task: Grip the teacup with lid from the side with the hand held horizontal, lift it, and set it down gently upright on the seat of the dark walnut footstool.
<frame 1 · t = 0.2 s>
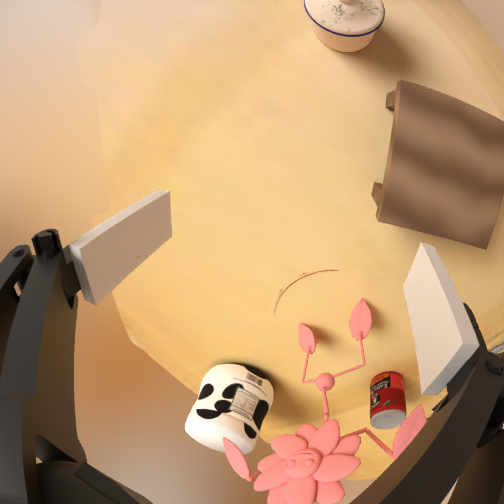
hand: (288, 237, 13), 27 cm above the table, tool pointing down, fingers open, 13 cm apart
milk container: (242, 379, 63), on the table
teacup with lid: (337, 19, 26), on the table
canned food: (386, 380, 51), on the table
figurine: (327, 305, 47), on the table
walnut footstool: (428, 157, 31), on the table
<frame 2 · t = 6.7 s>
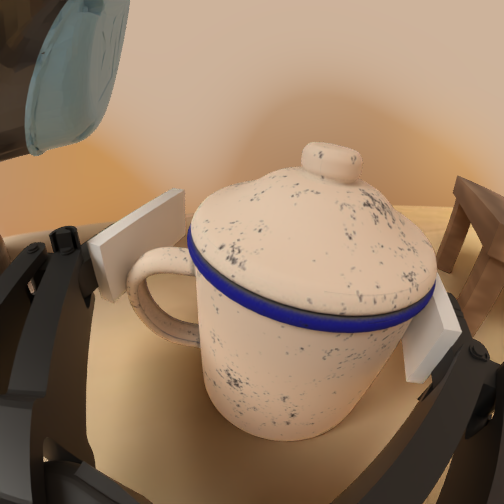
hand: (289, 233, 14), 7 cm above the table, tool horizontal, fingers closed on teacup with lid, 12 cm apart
teacup with lid: (256, 374, 14), on the table, touching gripper
walnut footstool: (494, 318, 18), on the table
when the fingers open (18 cm above the table, at t = 13.2 s): teacup with lid drops 1 cm, resting on walnut footstool.
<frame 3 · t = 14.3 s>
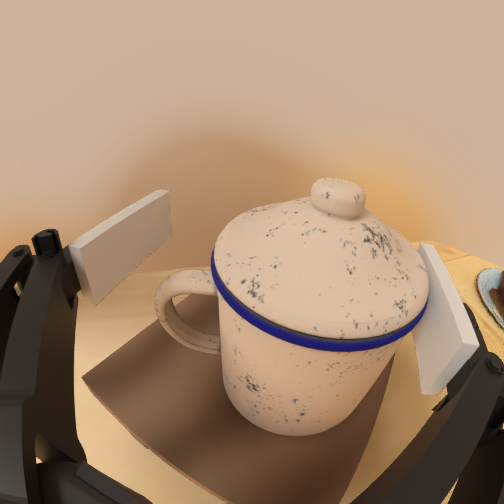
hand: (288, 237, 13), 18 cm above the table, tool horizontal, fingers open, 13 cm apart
teacup with lid: (270, 376, 16), point 10 cm above the table, touching walnut footstool
walnut footstool: (247, 427, 21), on the table
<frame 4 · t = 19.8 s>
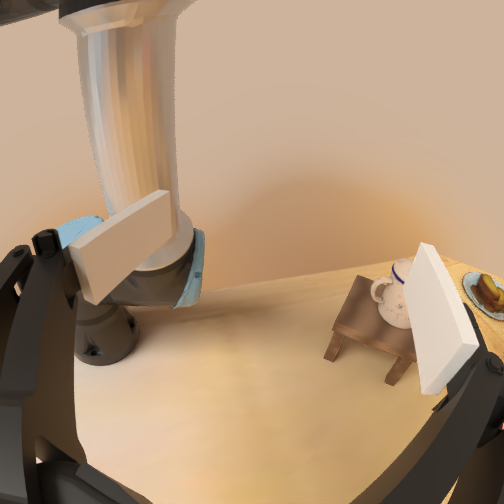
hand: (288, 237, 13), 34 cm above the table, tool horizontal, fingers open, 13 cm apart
teacup with lid: (391, 313, 44), point 10 cm above the table, touching walnut footstool
food on plate: (487, 300, 65), on the table
walnut footstool: (368, 346, 50), on the table
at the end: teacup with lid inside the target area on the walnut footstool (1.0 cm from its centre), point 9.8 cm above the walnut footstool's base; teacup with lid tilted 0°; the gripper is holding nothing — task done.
